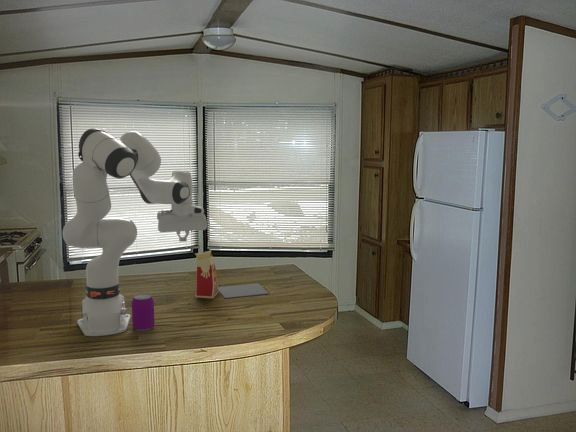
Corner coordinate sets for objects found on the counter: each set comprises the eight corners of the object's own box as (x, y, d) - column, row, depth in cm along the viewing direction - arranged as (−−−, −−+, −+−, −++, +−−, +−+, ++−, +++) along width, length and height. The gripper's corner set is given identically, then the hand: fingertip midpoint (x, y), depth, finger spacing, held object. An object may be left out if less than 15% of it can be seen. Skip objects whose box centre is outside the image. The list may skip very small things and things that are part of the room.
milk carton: (218, 292, 233) (218, 248, 230) (213, 298, 224) (213, 252, 221) (198, 291, 234) (197, 247, 231) (192, 297, 225) (192, 252, 222)
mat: (269, 294, 231) (269, 293, 231) (224, 298, 224) (224, 297, 224) (258, 284, 246) (258, 283, 246) (216, 288, 239) (216, 287, 239)
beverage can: (146, 322, 195) (145, 291, 193) (158, 327, 190) (158, 295, 188) (128, 328, 189) (127, 296, 187) (141, 333, 185) (139, 300, 183)
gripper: (157, 211, 213) (158, 244, 215) (207, 209, 220) (208, 241, 222) (155, 209, 219) (156, 241, 221) (204, 206, 226) (204, 238, 228)
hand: (182, 241), depth 222 cm, fingers closed
